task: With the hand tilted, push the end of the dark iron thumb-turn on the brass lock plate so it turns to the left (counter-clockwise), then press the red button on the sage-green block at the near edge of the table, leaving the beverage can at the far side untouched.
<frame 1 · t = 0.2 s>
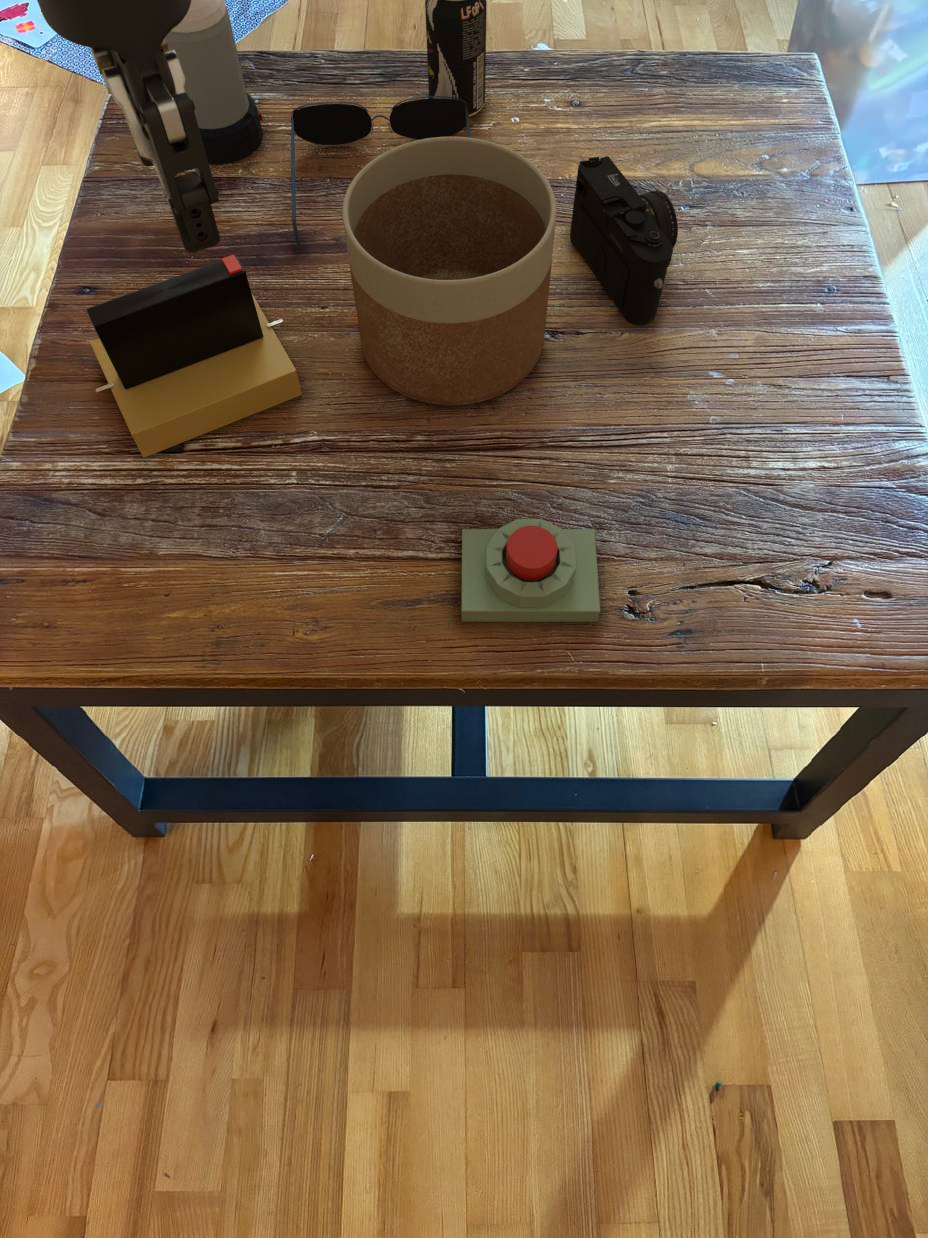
hand: (180, 201, 57), 21 cm above the table, tool pointing down, fingers open, 8 cm apart
beverage can: (457, 108, 95), on the table
humidifier: (223, 138, 93), on the table
button block: (528, 580, 69), on the table
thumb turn: (179, 322, 72), point 7 cm above the table, hinge at 0.0°
lock plate: (201, 380, 78), on the table
planter: (452, 341, 80), on the table
sunglasses: (385, 192, 89), on the table
button: (531, 553, 66), point 4 cm above the table, slide at 0.1 cm
camera: (627, 271, 84), on the table
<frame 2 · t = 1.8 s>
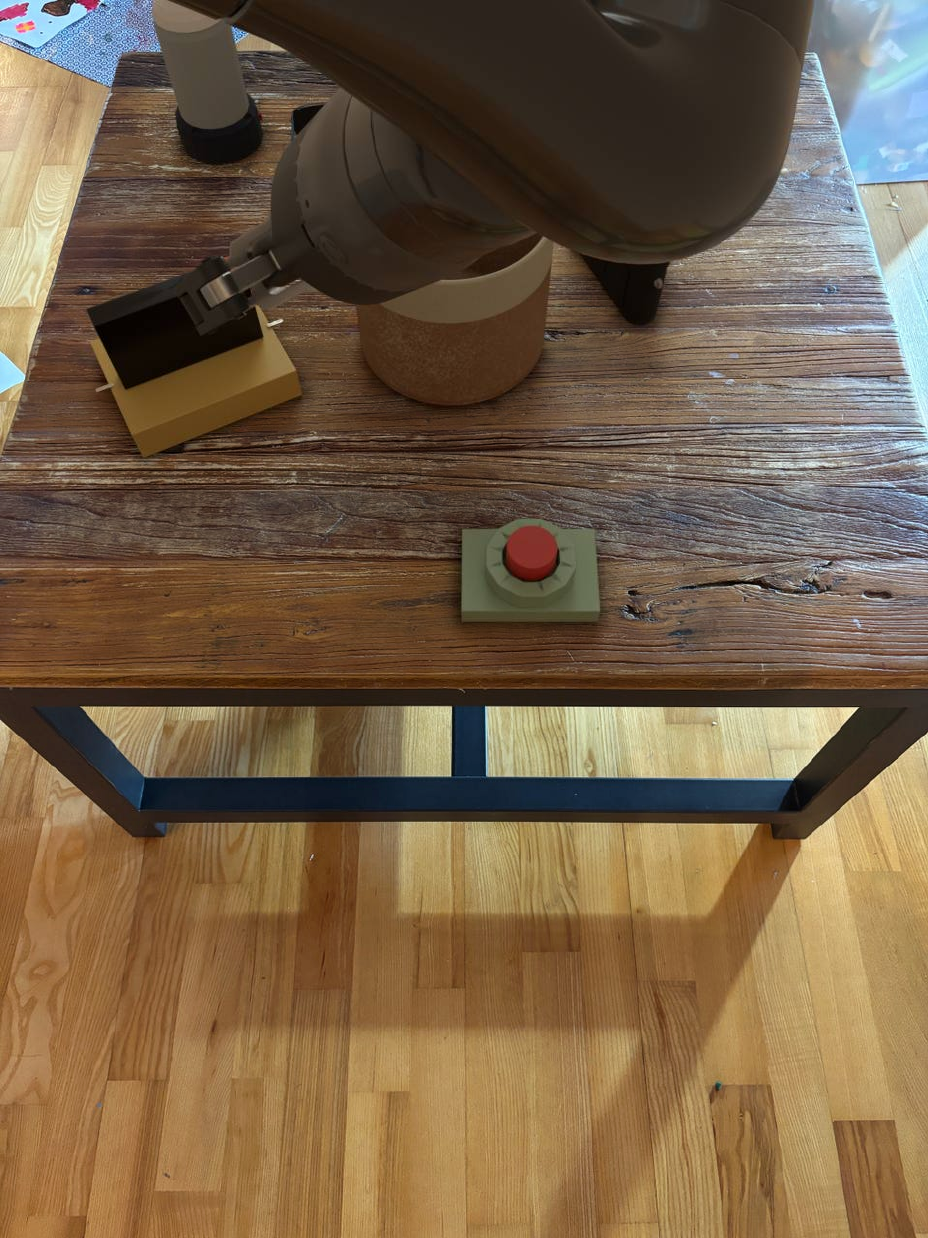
hand: (284, 263, 50), 25 cm above the table, tool tilted 45°, fingers open, 8 cm apart
nothing on the table moved.
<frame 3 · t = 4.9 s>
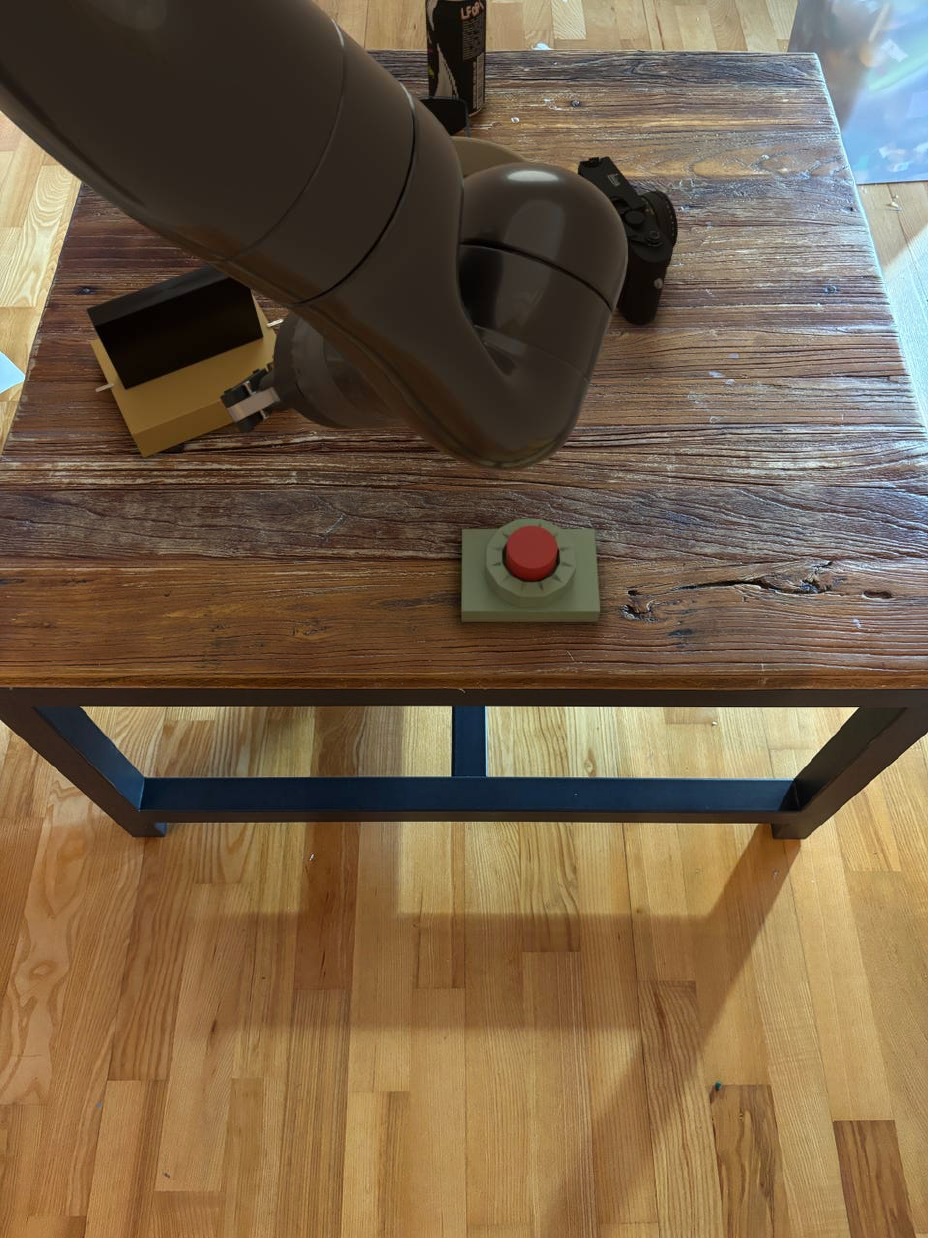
hand: (281, 374, 64), 11 cm above the table, tool tilted 45°, fingers closed
nothing on the table moved.
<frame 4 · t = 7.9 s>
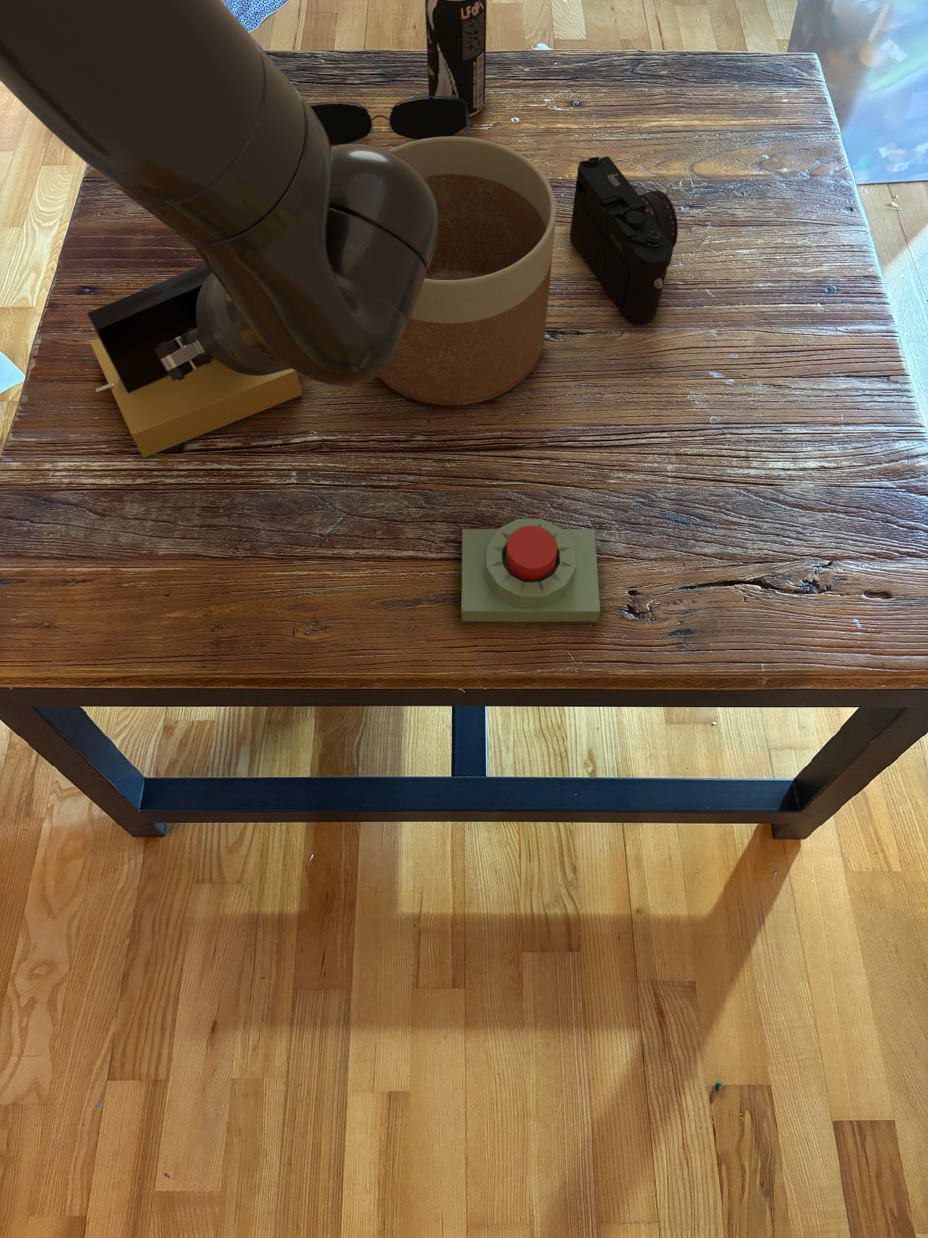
hand: (217, 336, 73), 5 cm above the table, tool tilted 45°, fingers closed
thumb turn: (179, 322, 72), point 7 cm above the table, hinge at 4.1°, touching gripper
everything else where it was.
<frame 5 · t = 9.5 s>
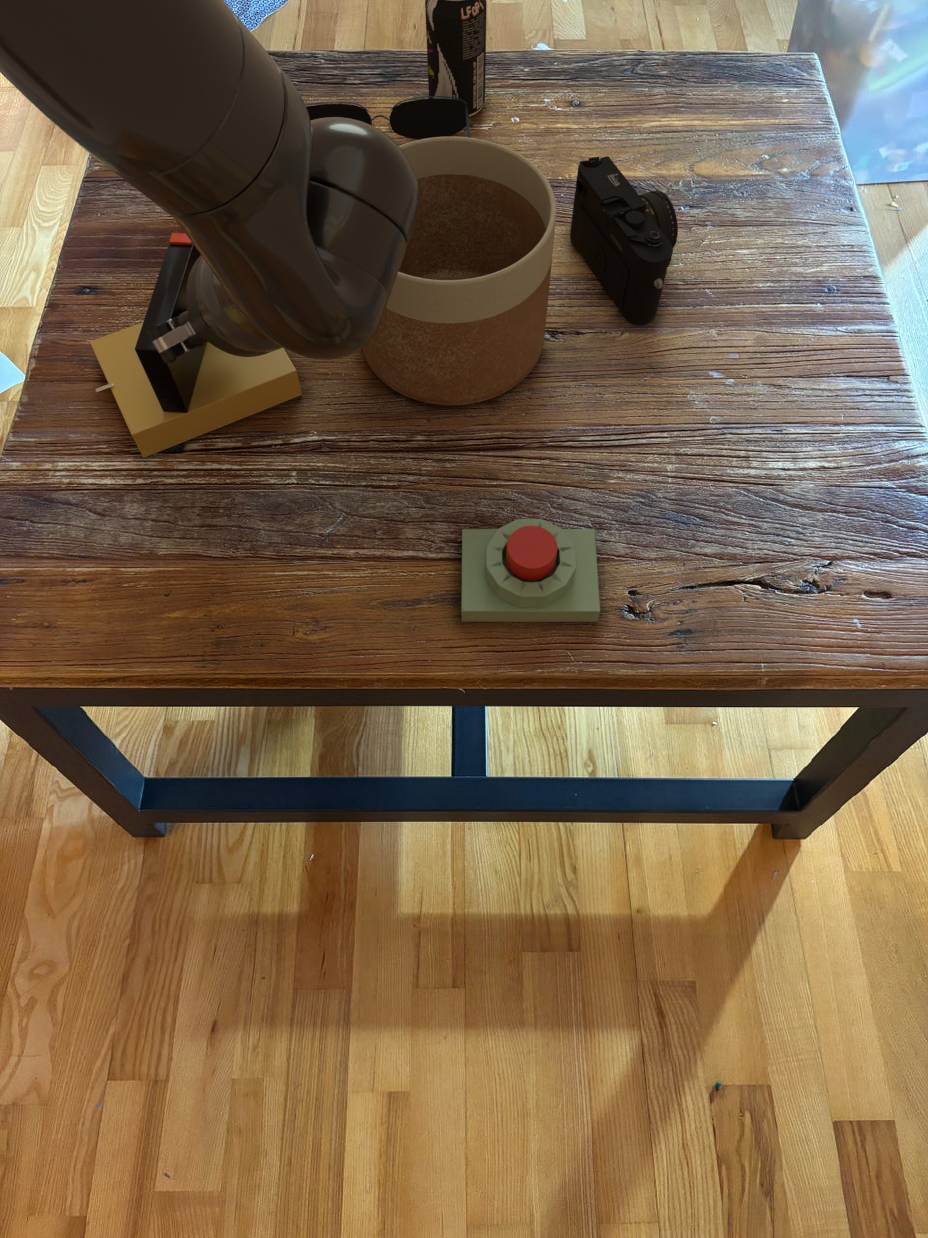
hand: (211, 321, 74), 6 cm above the table, tool tilted 45°, fingers closed
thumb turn: (179, 322, 72), point 7 cm above the table, hinge at 57.5°, touching gripper
everything else where it was.
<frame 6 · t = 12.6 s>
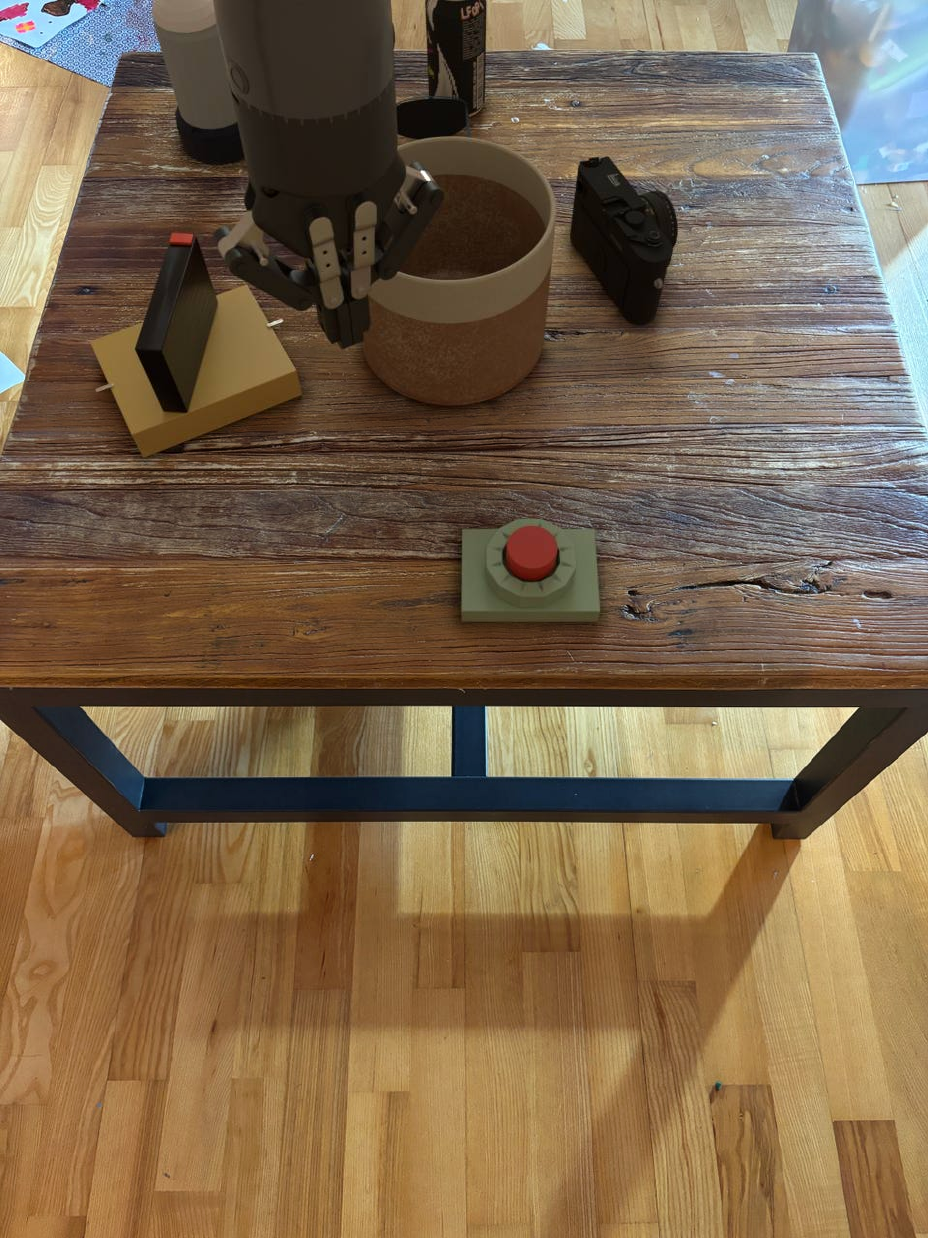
hand: (345, 336, 57), 18 cm above the table, tool pointing down, fingers closed
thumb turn: (179, 322, 72), point 7 cm above the table, hinge at 57.5°
everything else where it was.
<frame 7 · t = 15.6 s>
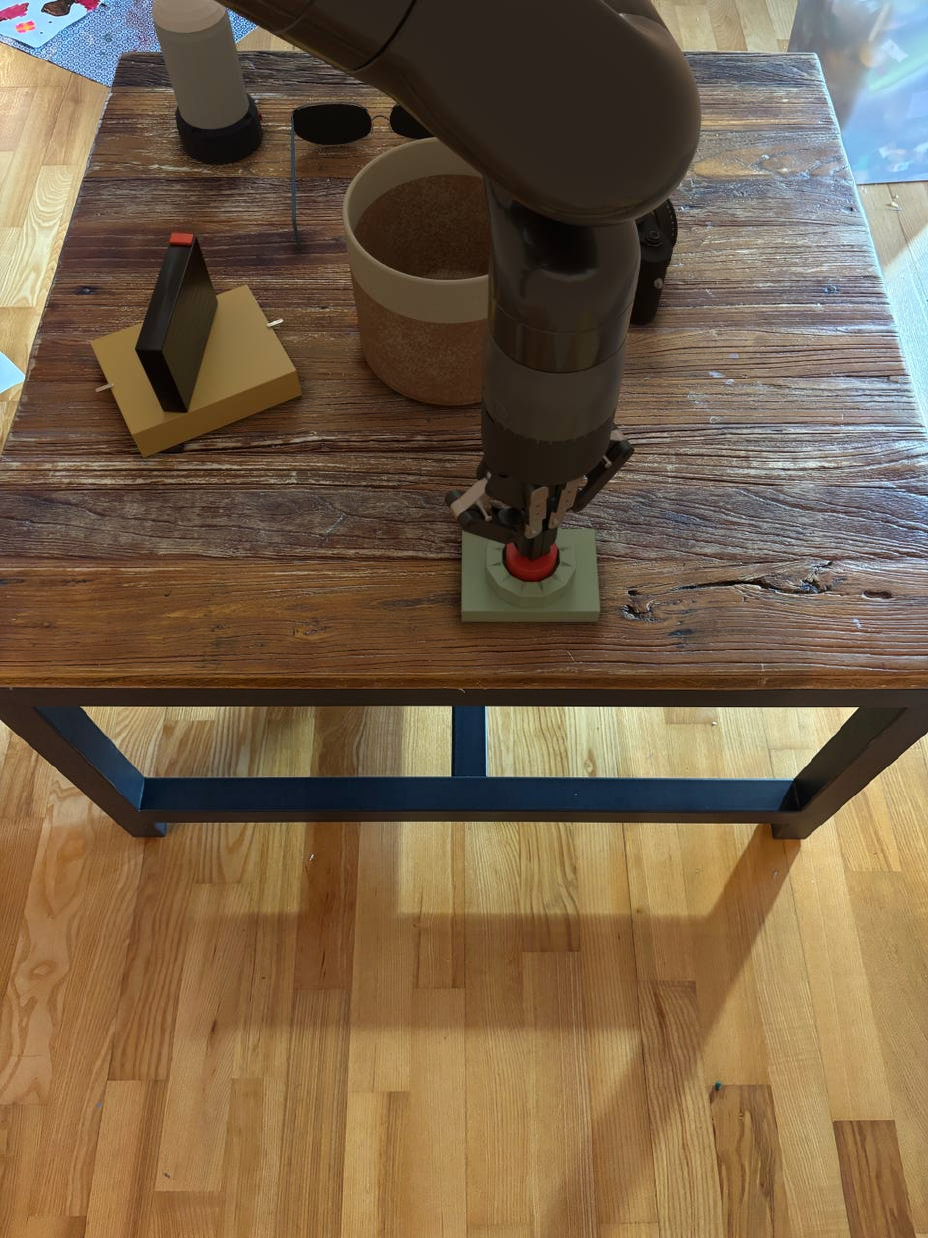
hand: (532, 548, 65), 5 cm above the table, tool pointing down, fingers closed
button: (531, 555, 66), point 4 cm above the table, slide at -0.2 cm, touching gripper
everything else where it was.
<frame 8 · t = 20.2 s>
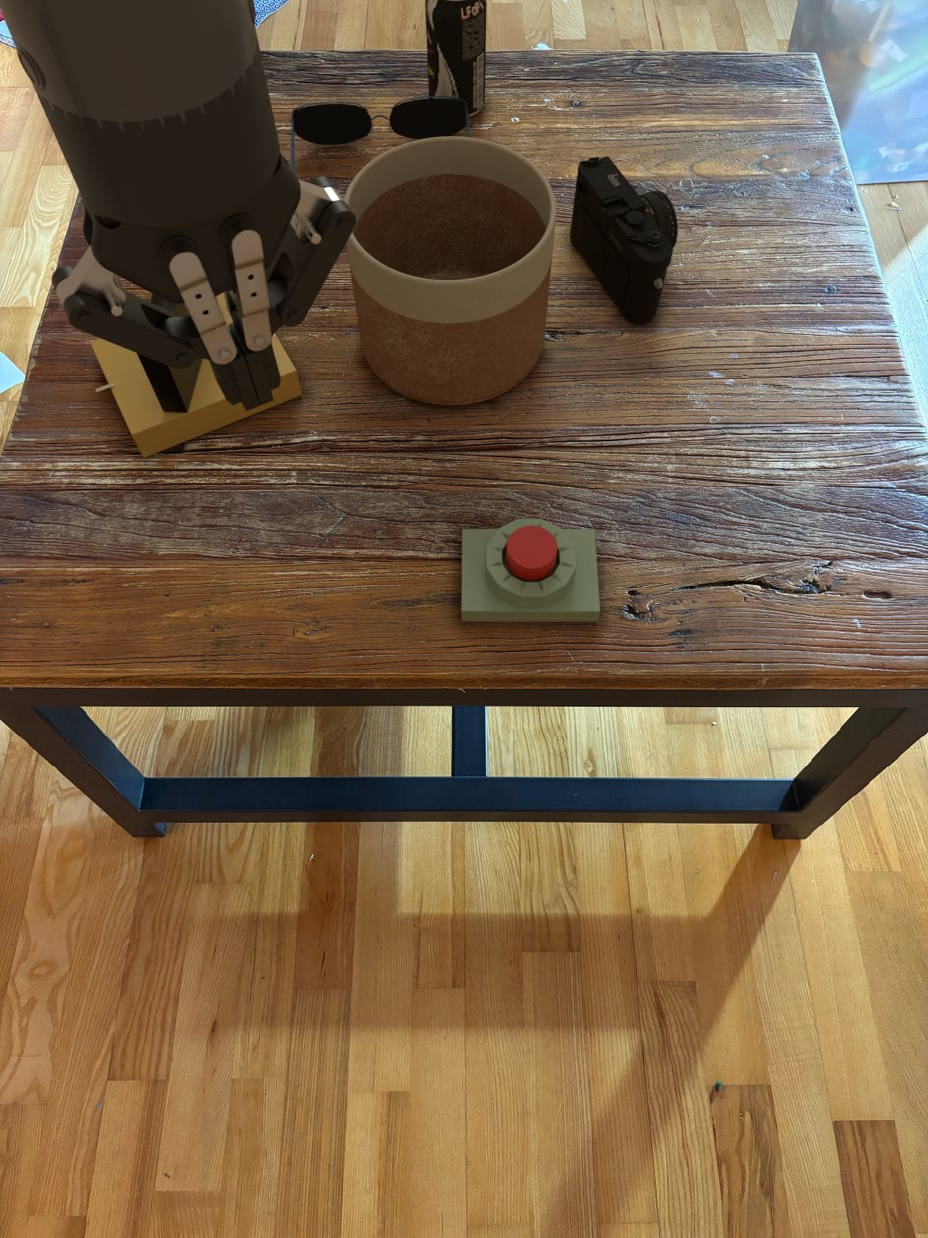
hand: (252, 394, 45), 25 cm above the table, tool pointing down, fingers closed
button: (531, 552, 66), point 4 cm above the table, slide at 0.1 cm
everything else where it was.
at the end: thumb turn at +58° (first picture: +0°); button pushed in 1.1 cm at the most during the clip, back to where it started at the end; button slide at 0.1 cm; beverage can moved 0.2 cm from its start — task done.
